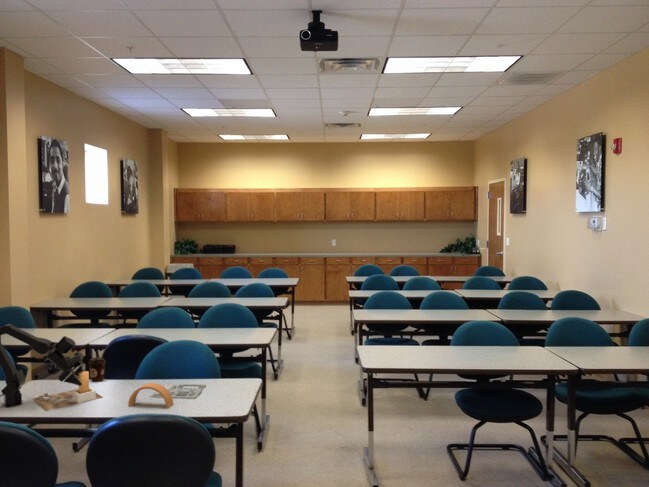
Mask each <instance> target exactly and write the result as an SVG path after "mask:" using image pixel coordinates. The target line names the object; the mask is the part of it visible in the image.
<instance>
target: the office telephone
mask: <svg viewBox="0 0 649 487" xmlns="http://www.w3.org/2000/svg"><path fill="white" fill-rule="evenodd" d="M162 386H163V385H162ZM163 387H165V388H166V389H167V390H168V391H169V393H170V394H171V396H172V399H186V400H195V398H196V399H197V398H198V397H199V396H200V395H201V394H202V391H203V389H205V388H206V387H207V384H199V383H198V384H197V383H180V384H178V385H176V384H174V383H166V384H165V385H164V386H163ZM184 387H185V388H184ZM187 387H190V388H187ZM193 387H196V388H193ZM198 395H199V396H198ZM197 396H198V397H197ZM149 397H150V398H157V399H158V398H159V399H160V398H161V399H164V398H163V397H162V396H161V394H160V393H158V392H157V391H155V392H154V393H152V394H151V395H150V396H149Z"/></svg>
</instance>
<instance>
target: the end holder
mask: <svg viewBox="0 0 649 487" xmlns="http://www.w3.org/2000/svg"><path fill="white" fill-rule="evenodd" d="M77 389H78V390H76V389H73V390H74V391H72V397H73V398H75V399H76V402H78V404H82V403H81V402H83V403H86V402H85V401H87V402H90V401H89V400H91V401H94V400H93V399H95V400H97V399H96V393H97V392H96V390H95V389H94V388H92V387H90V386H89V392H86V393H82V394H79V388H77Z"/></svg>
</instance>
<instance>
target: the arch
mask: <svg viewBox="0 0 649 487" xmlns="http://www.w3.org/2000/svg"><path fill="white" fill-rule="evenodd" d="M146 389H148V390H153V391H155V392H158V393H160V394H161V396H162V397H163V398H162V399H164V402H165V407H166V409H169V408H170V407H172V406H173V405H174V398H172V396H171V394H170V393H169V391H168V390H167V389H166V388H165V387H163V385H162V384H159V383H156V382H149V383H146V384H144V385H142V386H140V387H139V388H137V389H136V390H134V391H133V393H132V394H130V396H129V399H128V402H127V405H128V407H131V406H133V405H135V404H136V403H137V402H136V400H137V396H138V394H139V393H140V391H141V390H146Z"/></svg>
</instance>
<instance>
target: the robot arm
mask: <svg viewBox="0 0 649 487" xmlns="http://www.w3.org/2000/svg"><path fill="white" fill-rule="evenodd" d="M2 335H8V336H10V337H12V338H14V339H16V340H18V341H20V342H23V343H24V344H26V345H28V346H30V348H32V351H35V352H36V353H37V354H39V355H43V357H42V358H43V360H42V361H43V362H46V361H47V360H49V361H50V363H52V364H53V365H55V367H54V368H56V369H57V370H58V369H59V370H60V371H61V374H60V375H59V376H58V380H59V381H60V382H61V383H68V384H73V385H76V386H78V387H79V386H81V385H82V383H81V382H80V381H79V372H82V371H85V370H84V361H83V359H84V357H83V356H84V354H83V353H82V352H79V351H77V352H74V354H73V356H71V357H70V356H68V355H67V356H65V355H64V354H68V353H69V352H70V351H71V350H72V349H73V348H74V347H75V346H76V344H77V343H76V342H75V341H74V339H72V338H70V337H69V336H66V335H64V336H62V337H61V338H60V340H59V341H58V342H57V341H51V340H50V339H47V338H43V337H38V336H34V335H32V334H31V333H29V332H27V331H25V330H23V329H21V328H19V327H17V326H15V325H14V324H12V323H8V324H6V325H0V367H1V370H2V372H3V373H4V381H5V382H4V383H5V384H6V385H5V386H4V387H3V388H2V389H1V391H0V392H1V394H2V395H3V403H2V405H3V406H4V407H6V408H10V407H14V406H19V405H22V401H23V400H22V399H23V398H22V396H23V394H22V393H21V390H20V389H22V387H23V385H24V384H25V383H26V377H27V376H26V375H25V373H24V371H23V369H20V370H18V369H17V368H16V367H15V366H14V364H13V362H12V360H11V358H10V356H9V354H7V351H6V349H5V347H4V346H3V343H2Z"/></svg>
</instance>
